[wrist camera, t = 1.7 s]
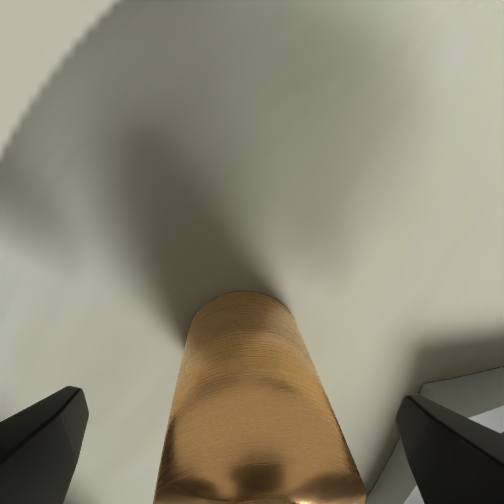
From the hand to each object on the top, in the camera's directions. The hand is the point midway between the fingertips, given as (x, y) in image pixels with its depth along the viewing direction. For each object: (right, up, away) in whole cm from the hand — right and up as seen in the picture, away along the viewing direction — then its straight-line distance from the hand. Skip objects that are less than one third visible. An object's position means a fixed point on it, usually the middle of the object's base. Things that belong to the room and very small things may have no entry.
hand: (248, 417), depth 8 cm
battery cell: (0, +1, +4) cm, 4 cm away
